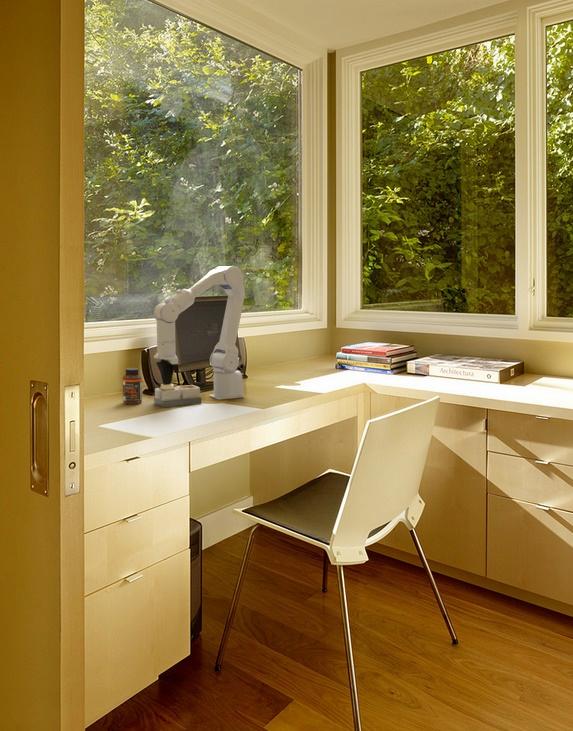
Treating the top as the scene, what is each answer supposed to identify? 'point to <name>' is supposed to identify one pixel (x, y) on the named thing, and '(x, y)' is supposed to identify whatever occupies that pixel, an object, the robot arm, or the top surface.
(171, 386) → the cream knob
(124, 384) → the supplement bottle
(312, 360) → the top surface
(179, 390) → the knob mount
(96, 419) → the top surface
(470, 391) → the top surface
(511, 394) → the top surface
